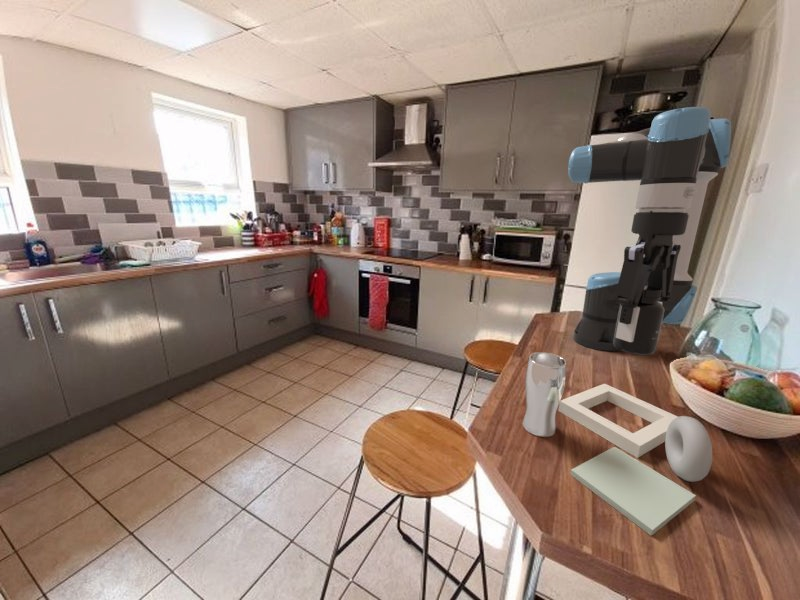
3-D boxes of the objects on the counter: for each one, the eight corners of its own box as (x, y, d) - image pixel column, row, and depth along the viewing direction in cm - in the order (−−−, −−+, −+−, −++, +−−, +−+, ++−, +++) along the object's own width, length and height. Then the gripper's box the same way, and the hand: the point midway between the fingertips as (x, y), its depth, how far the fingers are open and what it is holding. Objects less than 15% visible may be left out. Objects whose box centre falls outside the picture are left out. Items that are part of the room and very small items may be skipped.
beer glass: (512, 421, 68) (520, 355, 64) (538, 413, 71) (546, 349, 67) (538, 442, 62) (548, 370, 58) (565, 433, 65) (576, 363, 61)
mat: (613, 451, 60) (614, 446, 60) (694, 500, 50) (695, 495, 50) (570, 474, 55) (571, 469, 54) (651, 535, 44) (652, 530, 44)
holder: (602, 392, 79) (604, 383, 79) (682, 430, 66) (685, 420, 65) (558, 410, 72) (559, 400, 71) (637, 458, 58) (640, 446, 58)
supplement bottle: (663, 357, 60) (678, 293, 56) (621, 354, 61) (633, 290, 58) (644, 343, 66) (656, 284, 63) (606, 340, 67) (617, 282, 64)
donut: (707, 499, 50) (724, 443, 47) (679, 492, 51) (694, 437, 49) (680, 455, 59) (693, 406, 56) (657, 450, 60) (669, 402, 58)
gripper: (654, 210, 49) (626, 353, 55) (715, 211, 58) (685, 334, 64) (604, 210, 56) (584, 338, 62) (666, 211, 64) (643, 322, 70)
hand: (635, 336), depth 63 cm, fingers closed on supplement bottle, 7 cm apart
